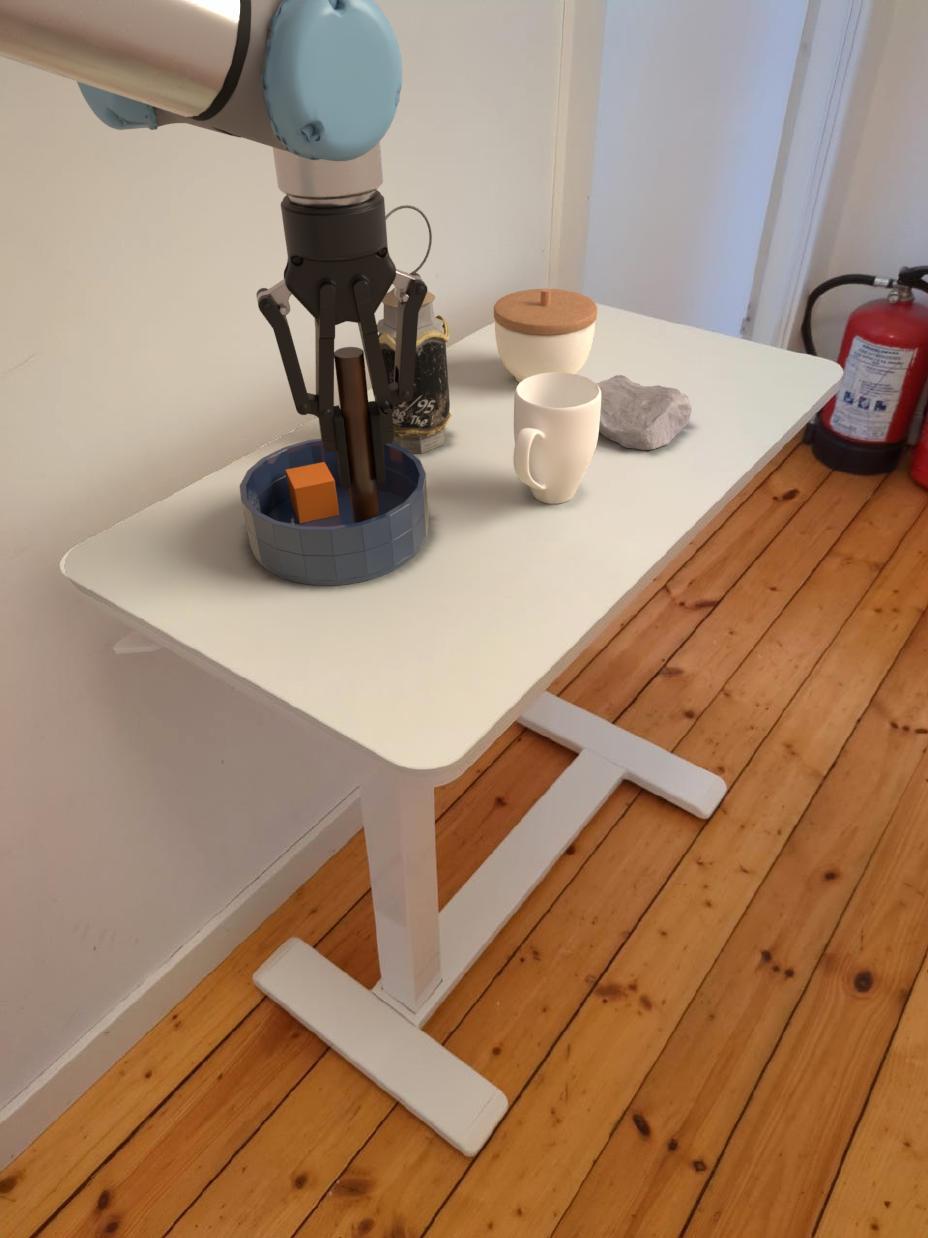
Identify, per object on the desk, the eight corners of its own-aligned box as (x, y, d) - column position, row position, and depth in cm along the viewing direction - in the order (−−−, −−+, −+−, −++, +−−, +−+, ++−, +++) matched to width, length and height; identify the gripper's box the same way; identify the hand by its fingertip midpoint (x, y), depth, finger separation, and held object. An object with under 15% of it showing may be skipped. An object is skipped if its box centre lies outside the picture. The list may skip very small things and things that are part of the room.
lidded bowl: (612, 382, 113) (620, 294, 106) (528, 407, 108) (531, 316, 101) (555, 349, 121) (558, 266, 114) (475, 370, 116) (474, 285, 110)
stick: (357, 548, 82) (335, 359, 71) (353, 534, 84) (331, 348, 73) (383, 544, 83) (365, 356, 71) (378, 530, 84) (361, 345, 73)
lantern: (405, 464, 98) (387, 222, 82) (364, 438, 103) (340, 205, 87) (467, 439, 102) (462, 204, 86) (425, 415, 107) (413, 189, 91)
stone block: (650, 470, 99) (697, 421, 103) (649, 434, 95) (697, 385, 100) (563, 442, 105) (610, 397, 110) (558, 407, 102) (607, 362, 106)
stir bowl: (257, 599, 79) (245, 543, 76) (246, 501, 93) (235, 449, 89) (445, 568, 82) (443, 513, 79) (409, 477, 95) (406, 426, 92)
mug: (535, 466, 97) (538, 365, 90) (606, 484, 93) (615, 381, 86) (481, 519, 89) (479, 413, 82) (557, 541, 85) (562, 433, 78)
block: (299, 524, 88) (294, 488, 85) (290, 504, 91) (285, 469, 88) (339, 515, 89) (334, 480, 86) (329, 496, 92) (324, 461, 89)
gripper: (425, 171, 69) (437, 447, 84) (221, 188, 66) (271, 469, 81) (447, 195, 63) (456, 486, 78) (225, 215, 60) (277, 512, 75)
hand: (361, 477), depth 79 cm, fingers closed on stick, 2 cm apart
